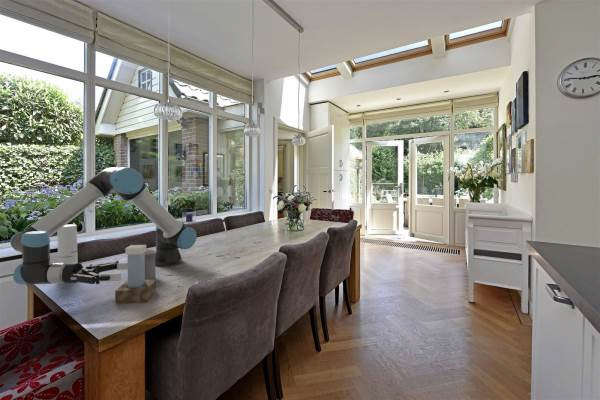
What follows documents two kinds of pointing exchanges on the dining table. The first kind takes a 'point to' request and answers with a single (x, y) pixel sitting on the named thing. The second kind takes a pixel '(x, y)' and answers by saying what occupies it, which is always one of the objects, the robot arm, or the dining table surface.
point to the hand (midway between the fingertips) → (128, 270)
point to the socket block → (135, 293)
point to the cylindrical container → (67, 244)
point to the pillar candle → (149, 265)
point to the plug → (136, 265)
